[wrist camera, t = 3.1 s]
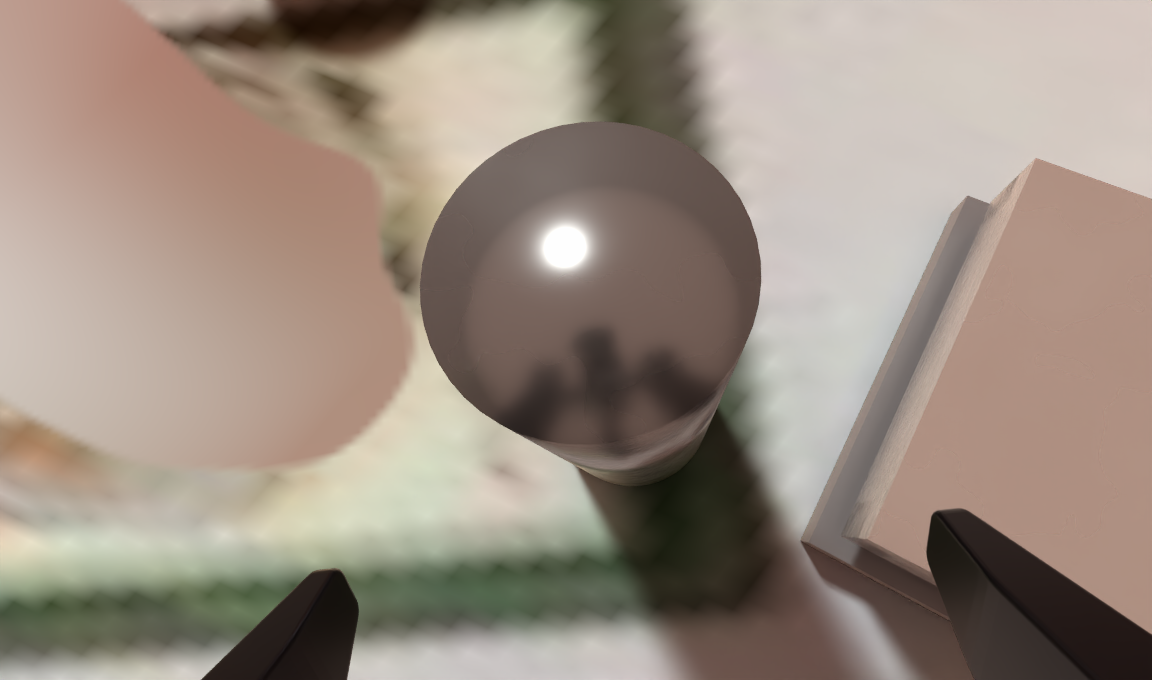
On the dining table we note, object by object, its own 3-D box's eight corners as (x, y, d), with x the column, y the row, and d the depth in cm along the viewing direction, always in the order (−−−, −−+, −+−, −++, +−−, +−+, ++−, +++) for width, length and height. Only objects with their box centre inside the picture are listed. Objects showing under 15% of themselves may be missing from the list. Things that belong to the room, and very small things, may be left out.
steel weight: (734, 376, 21) (820, 196, 9) (664, 515, 20) (660, 512, 8) (600, 311, 22) (523, 78, 10) (530, 440, 22) (358, 344, 10)
